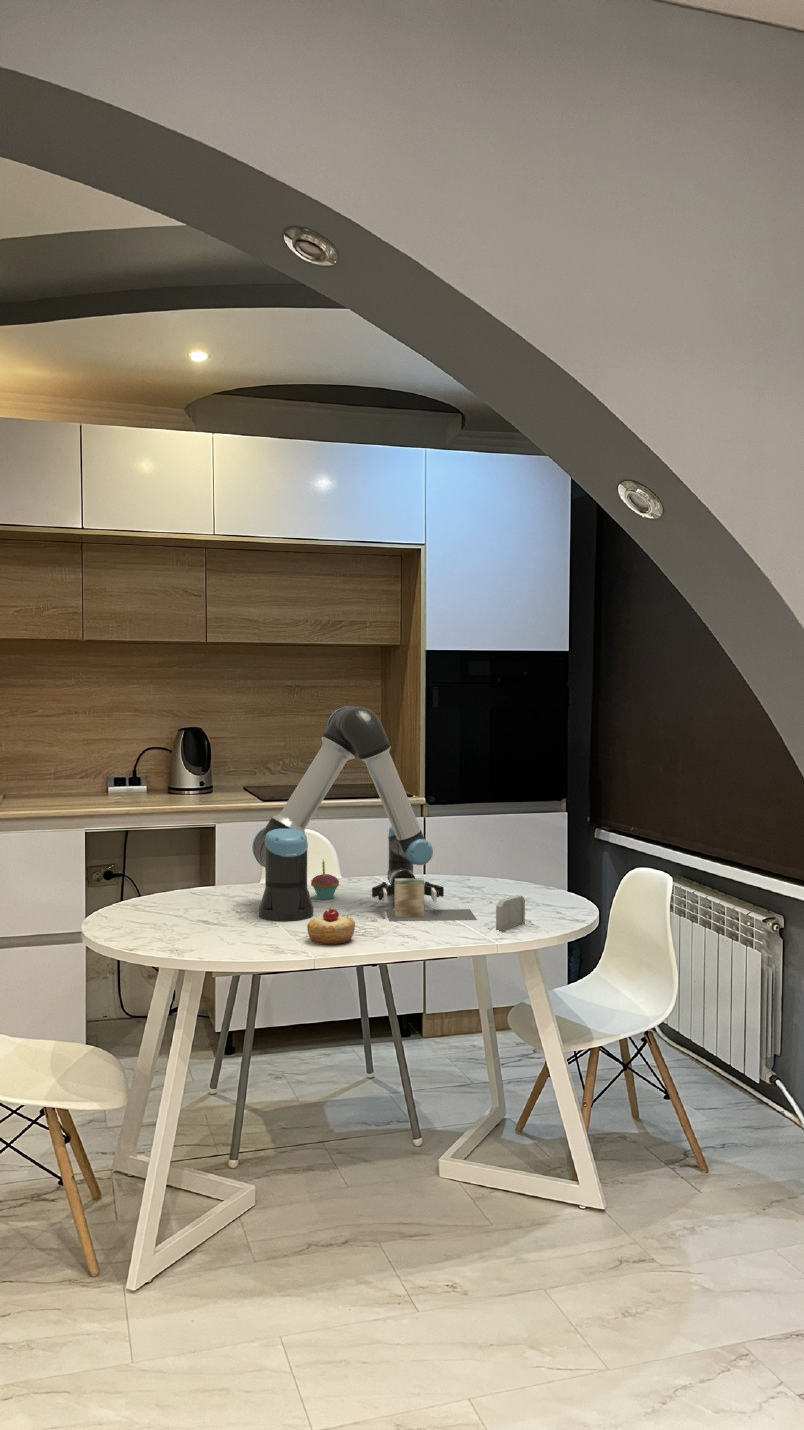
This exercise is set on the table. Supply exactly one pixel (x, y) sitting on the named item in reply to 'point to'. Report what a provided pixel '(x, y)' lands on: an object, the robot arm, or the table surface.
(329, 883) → the cupcake
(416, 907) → the tan and green block
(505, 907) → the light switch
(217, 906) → the table surface
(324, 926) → the pastry
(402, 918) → the mat
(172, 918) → the table surface
